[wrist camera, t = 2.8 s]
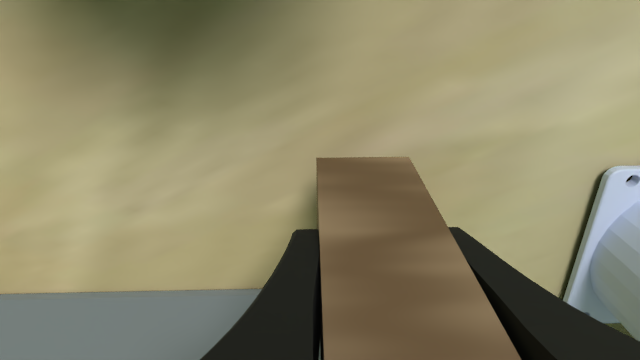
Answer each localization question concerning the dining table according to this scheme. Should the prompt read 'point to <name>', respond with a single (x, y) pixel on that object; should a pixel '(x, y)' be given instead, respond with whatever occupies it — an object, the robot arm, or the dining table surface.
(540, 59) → the dining table surface
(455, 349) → the block
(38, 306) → the mat
